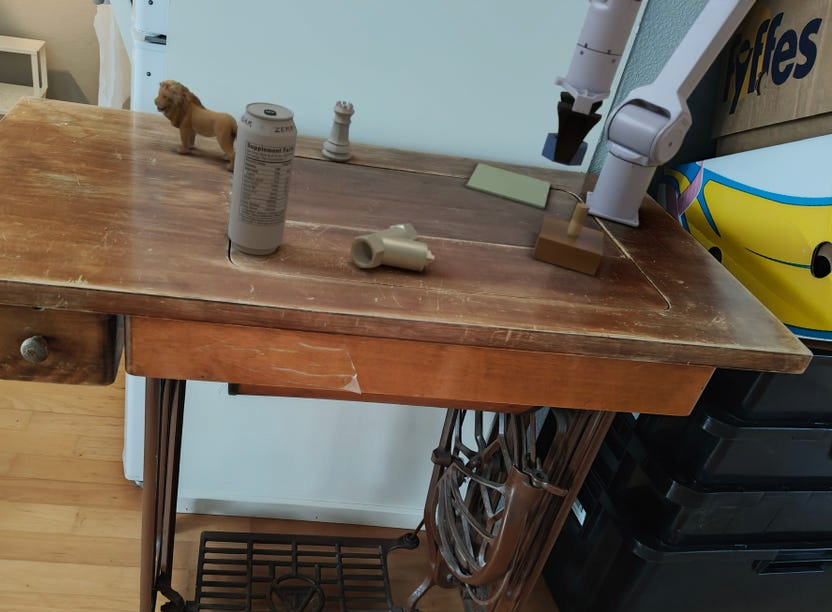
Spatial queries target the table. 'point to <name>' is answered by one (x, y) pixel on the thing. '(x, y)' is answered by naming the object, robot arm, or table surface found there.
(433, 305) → the table surface
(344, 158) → the rook chess piece
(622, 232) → the table surface
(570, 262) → the dowel stand
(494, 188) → the mat
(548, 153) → the ring
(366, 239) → the pipe fitting
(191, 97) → the lion figurine
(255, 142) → the energy drink can
